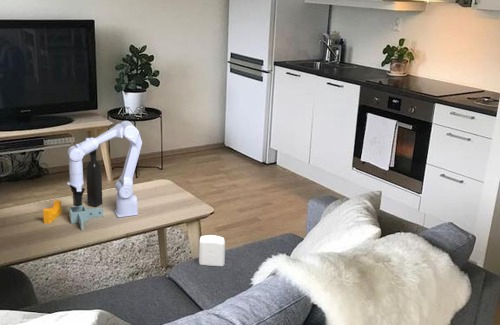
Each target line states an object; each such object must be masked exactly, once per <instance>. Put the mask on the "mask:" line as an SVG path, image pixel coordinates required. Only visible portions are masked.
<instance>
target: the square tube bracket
mask: <svg viewBox="0 0 500 325" xmlns="http://www.w3.org/2000/svg"><path fill="white" fill-rule="evenodd" d="M102 217H104V207H103V206H102V207H101V206H100V207H99V206H98V207H93V208H87V207H86V205H85V204H84V205H81V206H68V218H69V220H70V223H71V224H79V227H80V230H81V231H84V228H85V227H84V223H87V222H89V219H95V218H102Z"/></svg>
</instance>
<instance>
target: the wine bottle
mask: <svg viewBox="0 0 500 325" xmlns="http://www.w3.org/2000/svg"><path fill="white" fill-rule="evenodd" d="M89 155H90V156H89V158H90V159H89V161H88V162H87V163H86V166H85V175H86V176H85V177H86V198H87V200H86V201H87V205H88V206H89V207H93V208H98V207H99V206H101V205H103V179H102V178H103V176H102V173H103V172H102V165H101V163H100V161H98V159H97V149H96V150H94V151H92V152H90V153H89Z"/></svg>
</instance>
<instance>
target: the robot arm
mask: <svg viewBox="0 0 500 325" xmlns="http://www.w3.org/2000/svg"><path fill="white" fill-rule="evenodd" d="M123 136H124V137H125V138H126V140H127V141H128V142H129V147H128V151H127V154H126V158H125V162H124V165H123V169H122V173H121V175H120V176H119V179H118V180H117V182H116V183H115V186H114V187H115V190H116V191H117V193H116V195H115V196H116V198H115V199H116V200H115V203H116V205H115V206H116V209H114V213H115V215H116V217H117V218H124V217H133V216H138V215H139V213H138V197H137V195H136V194H134V191H133V185H134V180H133V178H134V175H135V170H136V167H137V165H138V164H137V163H138V160H139V157H140V153H141V149H142V145H143V141H142V138H141V135H140V131H139V130H138V128H137V127H136V126H135V125H134V124H133V123H132V122H131V121H129V120H123V121H122V122H120V123H117V124H115V126H113V127H112V128H110V129H108V130H107V131H104V132H103V133H102V134H99V135H98V136H97V137H92V136H91V137H86V138H85V140H83V141H81V142H79V143H76V144H75V145H72V146H70V147H69V148H68V150H67V152H66V154H67V156H68V172H69V181H67V183H66V184H67V186H69V187H70V191H71V192H72V195H73V194H74V198H75V202H76V203H81V200H82V201H83V194H84V192H85V188H84V187H83V186H84V183H85V182H84V171H83V170H84V168H83V164H84V163H83V159H84V156H87V155H88V154H89V155H90V152H92V151H94V150H96V151H97V150H98V148H99V146H100V145H101V144H103V143H105V142H108V141H110V140H112V139H115V138H121V139H123V138H124V137H123Z"/></svg>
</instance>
